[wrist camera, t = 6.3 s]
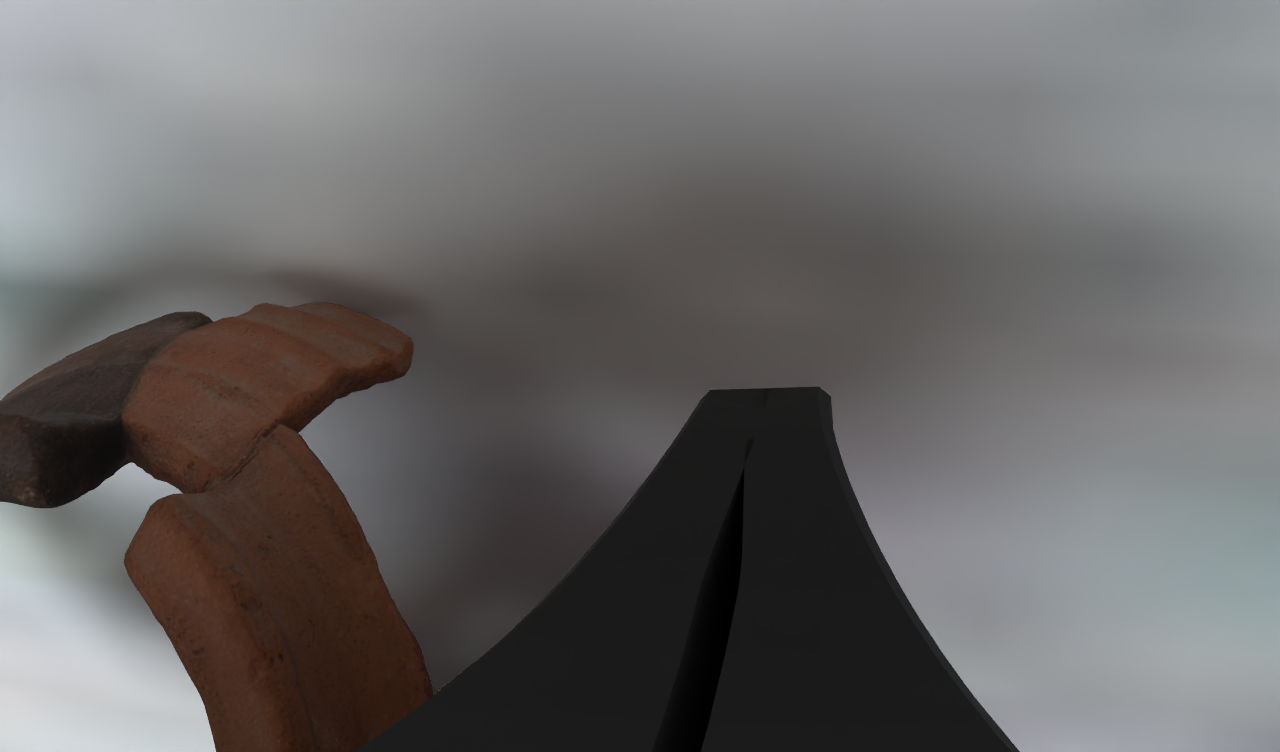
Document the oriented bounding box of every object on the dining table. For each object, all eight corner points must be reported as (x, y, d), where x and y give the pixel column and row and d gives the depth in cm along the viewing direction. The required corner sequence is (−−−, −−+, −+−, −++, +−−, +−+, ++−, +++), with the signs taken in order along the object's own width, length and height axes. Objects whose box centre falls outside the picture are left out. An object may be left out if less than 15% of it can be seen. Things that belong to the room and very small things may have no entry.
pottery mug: (213, 765, 21) (-323, 1036, 13) (290, 245, 19) (-266, 213, 12) (863, 1080, 16) (611, 1772, 9) (1029, 427, 15) (899, 570, 7)
